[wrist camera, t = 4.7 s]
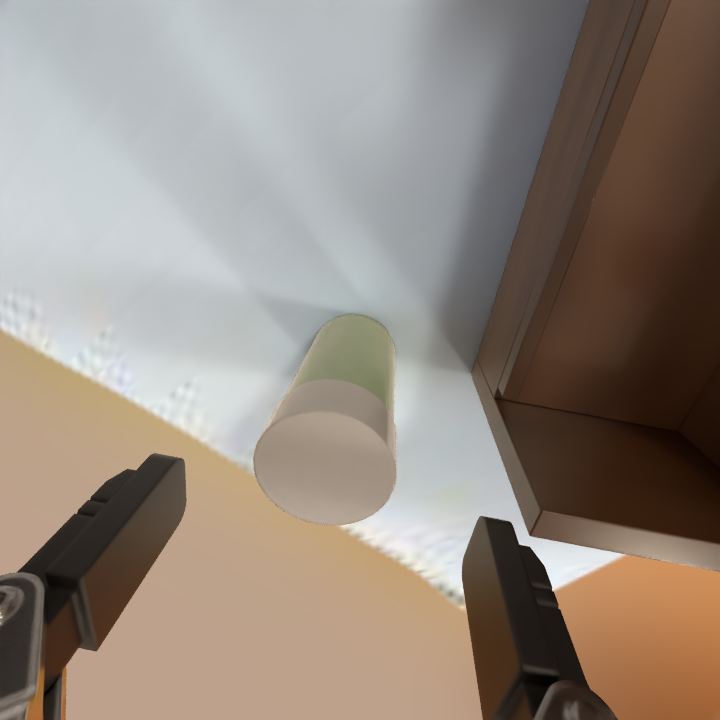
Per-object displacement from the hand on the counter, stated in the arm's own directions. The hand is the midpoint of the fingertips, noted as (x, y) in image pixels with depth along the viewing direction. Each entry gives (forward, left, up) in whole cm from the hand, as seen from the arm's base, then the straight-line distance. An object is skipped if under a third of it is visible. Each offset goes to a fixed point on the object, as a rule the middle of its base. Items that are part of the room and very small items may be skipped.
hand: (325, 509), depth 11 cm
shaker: (0, 0, -11) cm, 10 cm away
